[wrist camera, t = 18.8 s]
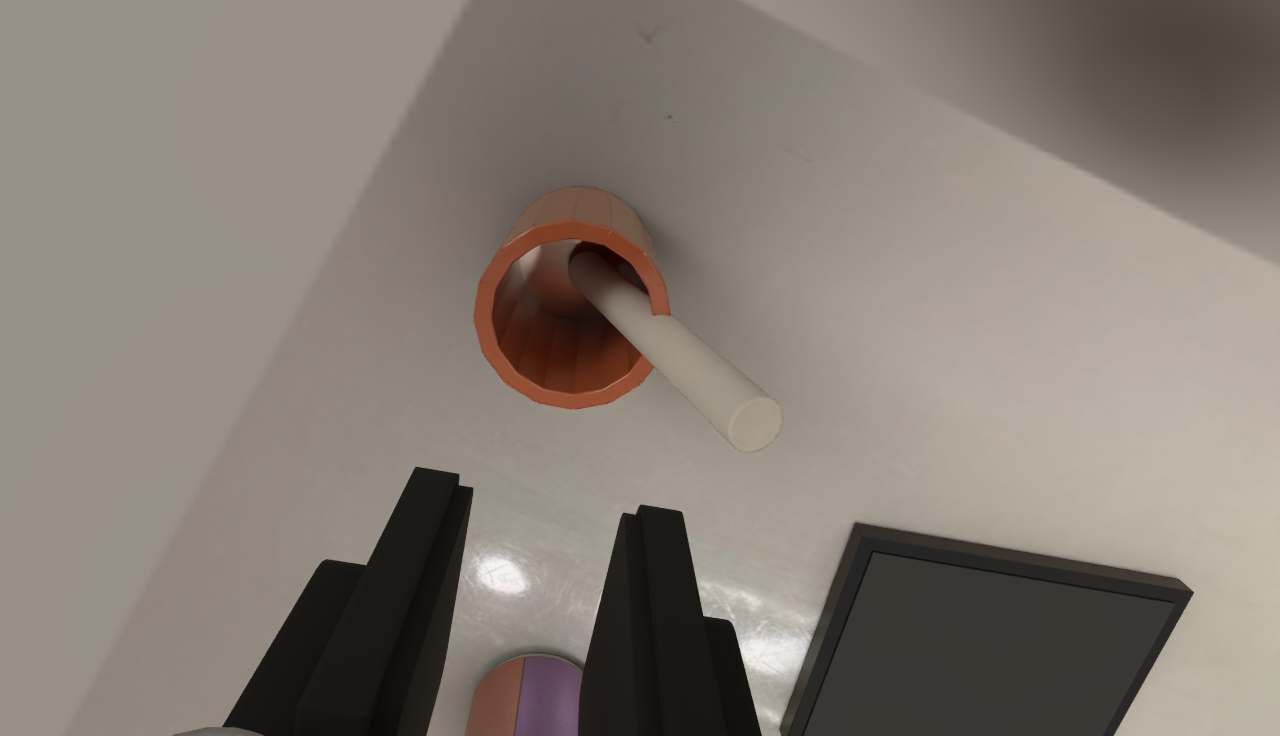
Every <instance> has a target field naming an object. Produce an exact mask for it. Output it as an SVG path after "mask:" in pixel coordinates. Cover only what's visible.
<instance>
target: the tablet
mask: <svg viewBox="0 0 1280 736" xmlns="http://www.w3.org/2000/svg"><path fill="white" fill-rule="evenodd" d="M1193 594H1194V592H1193V591H1192V590H1191V589H1190V588H1189V587H1187V586H1186V585H1185V584H1184V583H1183V582H1182V581H1180V580H1179V579H1175V578H1169V577H1164V576H1158V575H1152V574H1146V573H1141V572H1135V571H1129V570H1123V569H1118V568H1112V567H1106V566H1100V565H1095V564H1089V563H1083V562H1077V561H1072V560H1066V559H1060V558H1054V557H1049V556H1043V555H1037V554H1031V553H1026V552H1020V551H1014V550H1008V549H1003V548H997V547H991V546H985V545H980V544H974V543H968V542H962V541H957V540H951V539H945V538H939V537H934V536H928V535H922V534H916V533H911V532H905V531H899V530H893V529H888V528H882V527H876V526H870V525H865V524H859V523H855V526H854V528H853V531H852V534H851V537H850V539H849V542H848V545H847V547H846V550H845V553H844V556H843V558H842V561H841V564H840V567H839V569H838V572H837V575H836V577H835V580H834V583H833V586H832V588H831V591H830V594H829V597H828V599H827V602H826V605H825V607H824V610H823V613H822V616H821V618H820V621H819V624H818V627H817V629H816V632H815V635H814V637H813V640H812V643H811V646H810V648H809V651H808V654H807V656H806V659H805V662H804V665H803V667H802V670H801V673H800V676H799V678H798V681H797V684H796V686H795V689H794V692H793V695H792V697H791V700H790V703H789V706H788V708H787V711H786V714H785V716H784V719H783V722H782V725H781V727H780V733H781V736H1114V734H1115V732H1116V730H1117V729H1118V727H1119V725H1120V723H1121V722H1122V720H1123V718H1124V716H1125V714H1126V713H1127V711H1128V709H1129V707H1130V706H1131V704H1132V702H1133V700H1134V698H1135V697H1136V695H1137V693H1138V691H1139V690H1140V688H1141V686H1142V684H1143V682H1144V681H1145V679H1146V677H1147V675H1148V674H1149V672H1150V670H1151V668H1152V666H1153V665H1154V663H1155V661H1156V659H1157V658H1158V656H1159V654H1160V652H1161V650H1162V649H1163V647H1164V645H1165V643H1166V642H1167V640H1168V638H1169V636H1170V634H1171V633H1172V631H1173V629H1174V627H1175V626H1176V624H1177V622H1178V620H1179V618H1180V617H1181V615H1182V613H1183V611H1184V610H1185V608H1186V606H1187V604H1188V602H1189V601H1190V599H1191V597H1192V595H1193Z"/></svg>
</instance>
